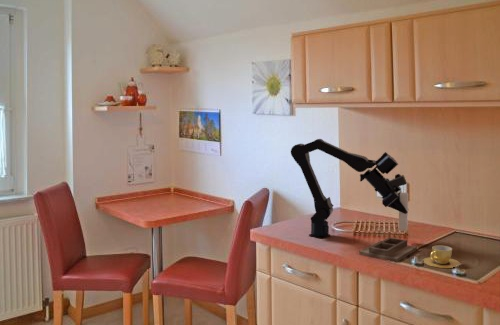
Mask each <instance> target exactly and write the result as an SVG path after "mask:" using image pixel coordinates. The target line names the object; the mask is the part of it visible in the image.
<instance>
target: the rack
mask: <svg viewBox="0 0 500 325" xmlns="http://www.w3.org/2000/svg"><path fill="white" fill-rule="evenodd" d="M417 250H418V247H417V246H413V245H408V240H406V239H401V238H395V237H387V238H384V239H383V240H379V241H378V242H375V243H374V244H372V245H370V246H368V247H365V248H363V249H362V250H359V254H358V255H360V256H365V257H369V258H375V259H380V260H383V259H384V261H388V260H390V261H389V262H393V261H395V262H394V263H397V262H399V261H401V260H402V259H404V258H406V257H408V256H409V255H411V254H413V253H414V252H416V251H417Z"/></svg>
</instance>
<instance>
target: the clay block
mask: <svg viewBox="0 0 500 325" xmlns="http://www.w3.org/2000/svg"><path fill="white" fill-rule="evenodd" d="M399 192H400V191H399ZM400 201H401V203H402V204H403V206H404V207H405V209H406V210H407V212H408V213H409V192H402V191H401V192H400ZM408 213H407V214H404V213H402V212H400V211H398V231H400V232H407V231H408V217H409V216H408V215H409V214H408Z"/></svg>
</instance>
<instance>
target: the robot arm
mask: <svg viewBox="0 0 500 325" xmlns="http://www.w3.org/2000/svg"><path fill="white" fill-rule="evenodd" d="M317 150H318V151H321V152H324V153H325V154H328V155H329V156H332V157H334V158H335V159H338V160H340V161H342V162H344V163H345V164H346V165H347V166H349V167H350V168H352V169H353V171H354V170H355V172H359V173H360V174H359V182H362V181H364V180H366V181H367V182H368V183H369V184H370V186H372V187H373V188H374V191H375V192H377V193H378V194H380V196H381V198H382V203H381V204H382V205H383V206H384V207H385V208H387V207H388V208H391V209H393V210H396V211H398V212H399V211H400V212H402V213H404V214H407V213H409V211H408V212H407V210H406V209H405V207H404V206H403V204H402V203H401V201H400V192H402V191H401V190H402V188H401V186H405V185H406V184H407V183H408V182H407V179H406V177H405V176H404V174H402V175H401V174H400V173H397V174H395V175H394V178H392V179H391V180H390V178H386V177H385V176H384V175H383V174H386V175H388V174H390V172H391V171H393V170H394V169H395V168H396V167H397V166H399V163H398V161H397V160H396V159H395V158H394V156H391V155H390V154H388V152H386V151H385V152H383V154H381V156H380V157H379V158H377V160H373V159H369V158H368V157H367V156H364V155H360V154H357V153H352V152H348V151H347V150H344V149H342V148H340V147H338V146H335V145H334V144H331V143H329V142H327V141H325V140H323V139H322V138H317V139H315V140H313V141H311V142H308V143H305V144H304V143H298V144H294V145H293V146H292V147H291V149H290V155H291V157H292V158H293V160H294V161H295V163H296V164H297V165H298V166H299V168H300V170H301V172H302V174H303V176H304V179H305V182H306V184H307V186H308V188H309V191H310V193H311V196H312V198H313V202H314V203H313V204H314V209H315V210H314V211H315V213H314V214H313V215H312V216H311V217H310V222H311V225H310V227H311V228H310V229H311V230H310V232H311V233H309V234H308V237H313V238H316V239H324V238H327V237H331V234H330V232H329V230H330V228H329V221H328V218H329V217H330V216H332V214H333V212H334V208H333V207H334V204H333V203H332V200H331V197H330V196H328V197H327V196H325V195H324V192H323V191H322V188H321V186H320V184H319V180H318V178H317V176H316V174H315V171H314V169H313V167H312V165H311V159H310V158H311V157H310V156H311V155H310V153H311V152H315V151H317ZM373 167H374V168H373ZM372 168H373V169H372ZM370 169H371V170H370ZM363 172H364V173H363Z"/></svg>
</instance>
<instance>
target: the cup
mask: <svg viewBox="0 0 500 325" xmlns="http://www.w3.org/2000/svg"><path fill="white" fill-rule="evenodd" d="M452 253H453V247H450V246H448V245H442V244H441V245H433V246H432V247H431V252H430V256H428V257H425V258H423V259H422V261H423V260H424V262H423V263H424V264H426V265H427V266H431V267H434V268H440V269H454V268H453V267H455V266H456V265H457V264H460V265H461V262H459V261H458V260H456V259H453V258H452ZM434 261H435V263H437V264H435V263H434ZM448 263H449V264H448ZM447 264H448V265H447ZM455 268H456V267H455Z"/></svg>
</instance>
